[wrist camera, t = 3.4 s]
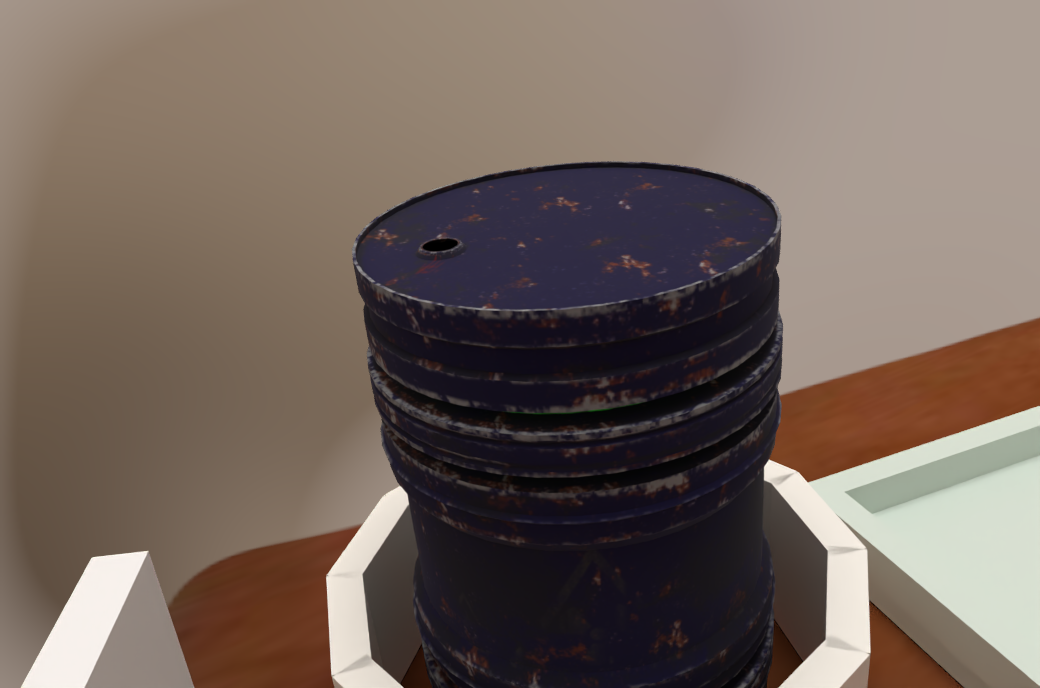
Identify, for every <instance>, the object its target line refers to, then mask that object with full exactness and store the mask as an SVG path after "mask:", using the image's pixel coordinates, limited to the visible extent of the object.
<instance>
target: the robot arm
mask: <svg viewBox="0 0 1040 688" xmlns="http://www.w3.org/2000/svg"><path fill="white" fill-rule="evenodd" d="M21 688H194V686H193V683H192V680H191V677H190V674H189V671H188V668H187V665H186V662H185V659H184V656H183V653H182V650H181V647H180V644H179V641H178V638H177V635H176V632H175V629H174V626H173V623H172V620H171V617H170V614H169V611H168V608H167V605H166V602H165V599H164V596H163V593H162V591H161V587H160V584H159V581H158V579H157V575H156V573H155V569H154V566H153V564H152V561H151V558H150V555H149V552H148V551H145V552H136V553H127V554H118V555H110V556H100V557H92V559H91V560H90V562H89V564H88V566H87V568H86V569H85V571H84V573H83V575H82V577H81V579H80V581H79V582H78V584H77V586H76V588H75V590H74V592H73V593H72V595H71V597H70V599H69V601H68V602H67V604H66V606H65V608H64V610H63V612H62V613H61V615H60V617H59V619H58V621H57V623H56V625H55V626H54V628H53V630H52V632H51V633H50V635H49V637H48V639H47V641H46V643H45V645H44V646H43V648H42V650H41V652H40V654H39V655H38V657H37V659H36V661H35V663H34V665H33V666H32V668H31V670H30V672H29V674H28V676H27V677H26V679H25V681H24V683H23V685H22V687H21Z"/></svg>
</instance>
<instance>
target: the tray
mask: <svg viewBox="0 0 1040 688" xmlns="http://www.w3.org/2000/svg"><path fill="white" fill-rule="evenodd" d="M808 484H809V485H810V486H811V487H812V488H813V489H814V490H815V491H816V492H817V494H818V495H819V496H820V497H821V498H822V499H823V500H824V501H825V502H826V504H827V505H828V506H829V507H830V508H831V509H832V510H833V511H834V513H835V514H836V515H837V516H838V517H839V518H840V519H841V520H842V521H843V523H844V524H845V525H846V526H847V527H848V528H849V529H850V530H851V531H852V533H853V534H854V535H855V536H856V537H857V538H858V539H859V540H860V541H861V543H862V544H863V545H864V546H865V547H866V549H867V560H868V592H869V600H870V601H871V602H872V603H873V604H874V605H875V606H877V607H878V608H879V609H880V610H881V611H882V612H883V613H884V614H885V615H886V616H887V617H888V618H890V619H891V620H892V621H893V622H894V623H895V624H896V625H897V626H898V627H899V628H900V629H901V630H902V631H904V632H905V633H906V634H907V635H908V636H909V637H910V638H911V639H912V640H913V641H914V642H915V643H917V644H918V645H919V646H920V647H921V648H922V649H923V650H924V651H925V652H926V653H927V654H928V655H930V656H931V657H932V658H933V659H934V660H935V661H936V662H937V663H938V664H939V665H940V666H941V667H943V668H944V669H945V670H946V671H947V672H948V673H949V674H950V675H951V676H952V677H953V678H954V679H955V680H957V681H958V682H959V683H960V684H961V685H962V686H963V687H964V688H1040V406H1038V407H1035V408H1032V409H1029V410H1026V411H1023V412H1020V413H1017V414H1014V415H1011V416H1008V417H1005V418H1002V419H999V420H996V421H993V422H990V423H987V424H984V425H981V426H978V427H975V428H972V429H969V430H966V431H963V432H960V433H957V434H954V435H951V436H948V437H945V438H942V439H939V440H936V441H933V442H930V443H926V444H923V445H920V446H917V447H914V448H911V449H908V450H905V451H902V452H899V453H896V454H893V455H890V456H887V457H884V458H881V459H878V460H875V461H872V462H869V463H866V464H863V465H860V466H857V467H854V468H851V469H848V470H845V471H842V472H839V473H836V474H833V475H830V476H827V477H824V478H821V479H818V480H815V481H812V482H809V483H808Z"/></svg>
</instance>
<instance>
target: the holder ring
mask: <svg viewBox="0 0 1040 688" xmlns="http://www.w3.org/2000/svg"><path fill="white" fill-rule="evenodd" d="M763 531H764V533H765V535H766V538H767V540H768V542H769V545H770V549H771V555H772V561H773V569H774V575H775V582H776V583H775V595H774V603H773V610H774V619H775V621H776V622H777V624H778V625H779V627H780V628H781V629H782V631H783V632H784V634H785V635H786V637H787V638H788V640H789V641H790V643H791V644H792V646H793V647H794V649H795V650H796V652H797V653H798V654H799V656H800V657H801V659H802V660H803V663H802V664H801V665H800V666H799V667H798V668H797V669H796V670H795V671H794V672H793V673H792V674H791V675H790V676H789V677H788V678H787V679H786V680H785V681H784V683H783V684H782V685H781V686H780V687H779V688H867V684H868V673H869V663H870V623H869V592H868V560H867V549H866V547H865V546H864V545H863V544H862V543H861V541H860V540H859V539H858V538H857V537H856V536H855V535H854V534H853V533H852V531H851V530H850V529H849V528H848V527H847V526H846V525H845V524H844V523H843V521H842V520H841V519H840V518H839V517H838V516H837V515H836V514H835V513H834V511H833V510H832V509H831V508H830V507H829V506H828V505H827V504H826V502H825V501H824V500H823V499H822V498H821V497H820V496H819V495H818V494H817V492H816V491H815V490H814V489H813V488H812V487H811V486H810V485H809V484H808V482H807V481H806V480H805V479H804V478H803V477H802V476H801V475H800V474H799V472H797V471H795V470H793V469H790V468H788V467H785V466H783V465H780V464H778V463H776V462H773V461H771V460H768V462H767V464H766V465H765V466H764V498H763ZM417 556H418V549H417V544H416V538H415V533H414V528H413V522H412V517H411V512H410V506H409V501H408V496H407V493H406V492H405V491H404V490H403V488H402V487H401V486H399V487H398V488H396V489H394V490H392V491H391V492H389V493H387V494H385V496H383V497H382V499H381V500H380V502H379V503H378V504H377V506H376V507H375V508H374V510H373V511H372V513H371V514H370V515H369V517H368V518H367V520H366V521H365V522H364V524H363V525H362V527H361V528H360V529H359V531H358V532H357V534H356V535H355V536H354V538H353V539H352V541H351V542H350V543H349V545H348V546H347V548H346V549H345V550H344V552H343V553H342V555H341V556H340V557H339V559H338V560H337V562H336V563H335V564H334V566H333V567H332V569H331V570H330V572H329V573H328V574H327V577H326V578H327V597H328V616H329V635H330V654H331V673H332V679H333V683H334V687H335V688H404V687H402V686H401V685H400V683H401V681H402V679H403V678H404V676H405V674H406V672H407V670H408V668H409V666H410V664H411V662H412V661H413V659H414V657H415V655H416V653H417V651H418V649H419V647H420V646H421V644H422V639H421V634H420V631H419V628H418V626H417V623H416V620H415V614H414V606H413V595H414V585H413V578H414V569H415V562H416V559H417Z"/></svg>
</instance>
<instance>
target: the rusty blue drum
mask: <svg viewBox="0 0 1040 688" xmlns="http://www.w3.org/2000/svg"><path fill="white" fill-rule="evenodd" d="M780 241H781V214H780V212H779V209H778V206H777V205H776V204H775V202H774V201H773V200H772V199H771V198H770V197H769V196H768V195H767V194H765V193H764V192H763V191H761V190H760V189H758V188H756V187H755V186H753V185H750V184H748V183H746V182H744V181H742V180H739V179H737V178H734V177H730V176H727V175H724V174H720V173H717V172H713V171H708V170H703V169H699V168H693V167H686V166H678V165H672V164H660V163H648V162H619V161H617V162H616V161H613V162H581V163H566V164H555V165H545V166H536V167H529V168H523V169H516V170H510V171H504V172H499V173H494V174H489V175H484V176H480V177H476V178H472V179H468V180H464V181H460V182H456V183H453V184H450V185H446V186H443V187H440V188H437V189H434V190H431V191H429V192H426V193H423V194H420V195H418V196H415V197H413V198H411V199H409V200H406V201H404V202H402V203H400V204H398V205H396V206H394V207H392V208H391V209H389V210H387V211H386V212H384V213H382V214H381V215H379V216H378V217H376V218H375V219H374V220H373V221H372V222H370V223H369V224H368V225H367V226H366V227H365V228H364V229H363V230H362V231H361V233H360V234H359V235H358V237H357V238H356V240H355V243H354V245H353V248H352V255H353V263H354V269H355V274H356V279H357V285H358V290H359V293H360V295H361V297H362V299H363V301H364V302H365V306H364V320H365V326H366V331H367V337H368V341H369V347H368V352H367V359H368V369H369V373H370V377H371V384H372V389H373V394H374V399H375V405H376V407H377V409H378V411H379V413H380V415H381V418H382V425H381V438H382V446H383V449H384V451H385V453H386V455H387V458H388V460H389V462H390V465H391V468H392V470H393V473H394V475H395V477H396V480H397V482H398V483H399V485H400V486H401V487H402V488H403V490H404V491H405V492H406V493H407V496H408V501H409V506H410V512H411V517H412V522H413V528H414V533H415V538H416V544H417V549H418V556H417V559H416V562H415V569H414V578H413V585H414V595H413V606H414V614H415V620H416V623H417V626H418V628H419V631H420V634H421V639H422V647H423V652H424V657H425V663H426V667H427V673H428V676H429V679H430V682H431V685H432V687H433V688H767V677H768V673H769V670H770V666H771V663H772V651H773V630H774V610H773V603H774V595H775V583H776V582H775V575H774V569H773V561H772V555H771V549H770V545H769V542H768V540H767V538H766V535H765V533H764V531H763V498H764V466H765V465H766V464H767V462H768V460H769V458H770V455H771V453H772V450H773V448H774V445H775V437H776V431H777V429H778V426H779V424H780V418H781V401H780V396H779V392H778V389H777V388H778V384H779V381H780V379H781V366H782V341H783V337H782V334H783V323H782V320H781V316H780V313H779V310H778V307H779V277H778V274H777V270H776V266H777V264H778V262H779V255H780Z"/></svg>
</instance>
